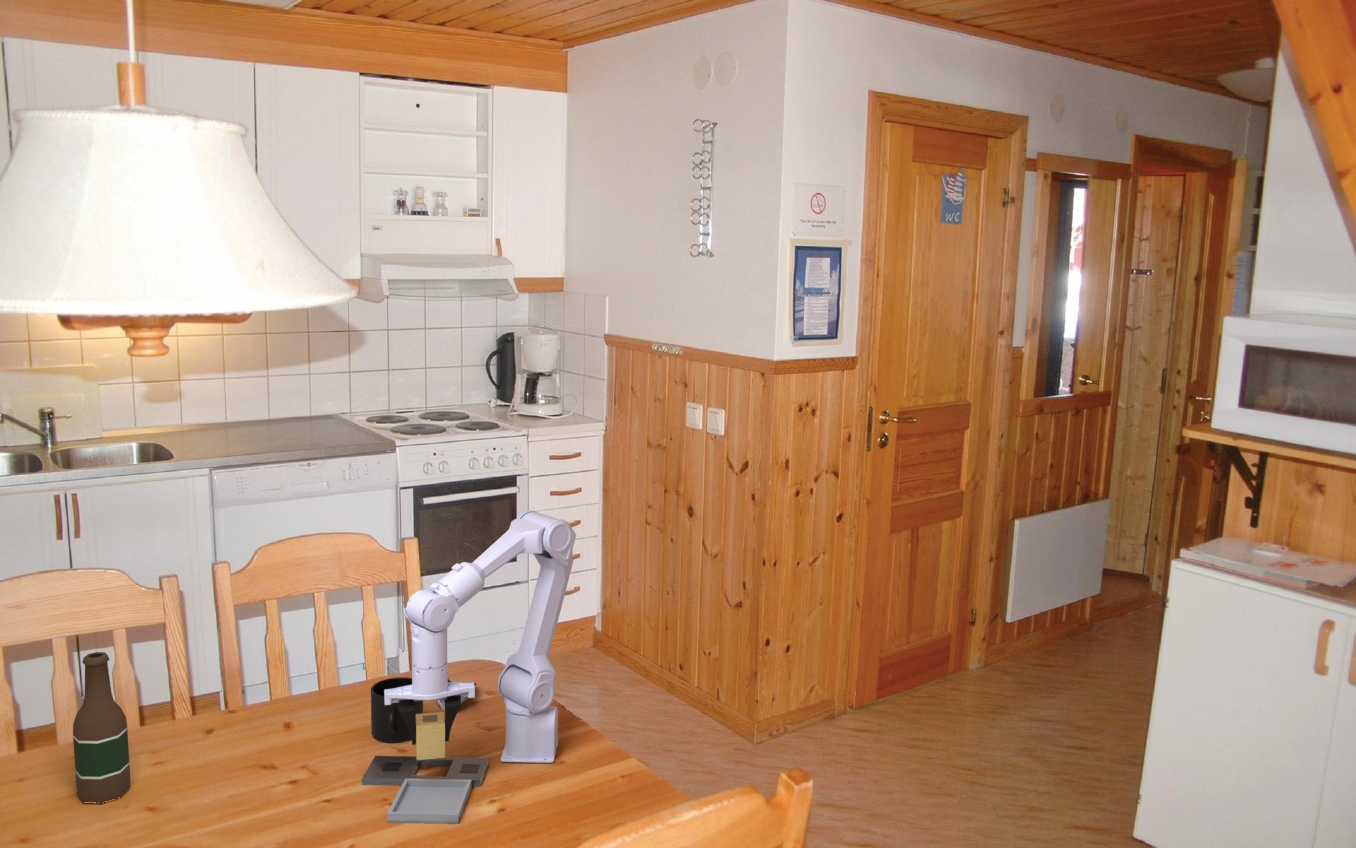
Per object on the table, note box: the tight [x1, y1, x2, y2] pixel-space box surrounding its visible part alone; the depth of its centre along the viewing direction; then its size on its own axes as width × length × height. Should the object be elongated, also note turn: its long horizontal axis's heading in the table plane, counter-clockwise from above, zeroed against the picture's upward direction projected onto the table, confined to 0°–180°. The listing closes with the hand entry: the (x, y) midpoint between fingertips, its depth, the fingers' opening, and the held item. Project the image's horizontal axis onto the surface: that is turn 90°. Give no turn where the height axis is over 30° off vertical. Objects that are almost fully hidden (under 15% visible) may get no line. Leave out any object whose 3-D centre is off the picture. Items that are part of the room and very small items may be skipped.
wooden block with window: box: [415, 711, 446, 760], centre depth 171 cm, size 5×5×6 cm
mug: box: [370, 676, 424, 744], centre depth 191 cm, size 9×12×9 cm
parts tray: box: [386, 778, 473, 825], centre depth 168 cm, size 11×11×2 cm
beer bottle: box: [72, 651, 131, 803], centre depth 167 cm, size 8×8×24 cm
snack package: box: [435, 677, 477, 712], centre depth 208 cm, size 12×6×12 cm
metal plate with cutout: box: [361, 755, 489, 788], centre depth 178 cm, size 20×8×1 cm, turn 91°
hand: (430, 740), depth 171 cm, fingers closed on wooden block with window, 5 cm apart
